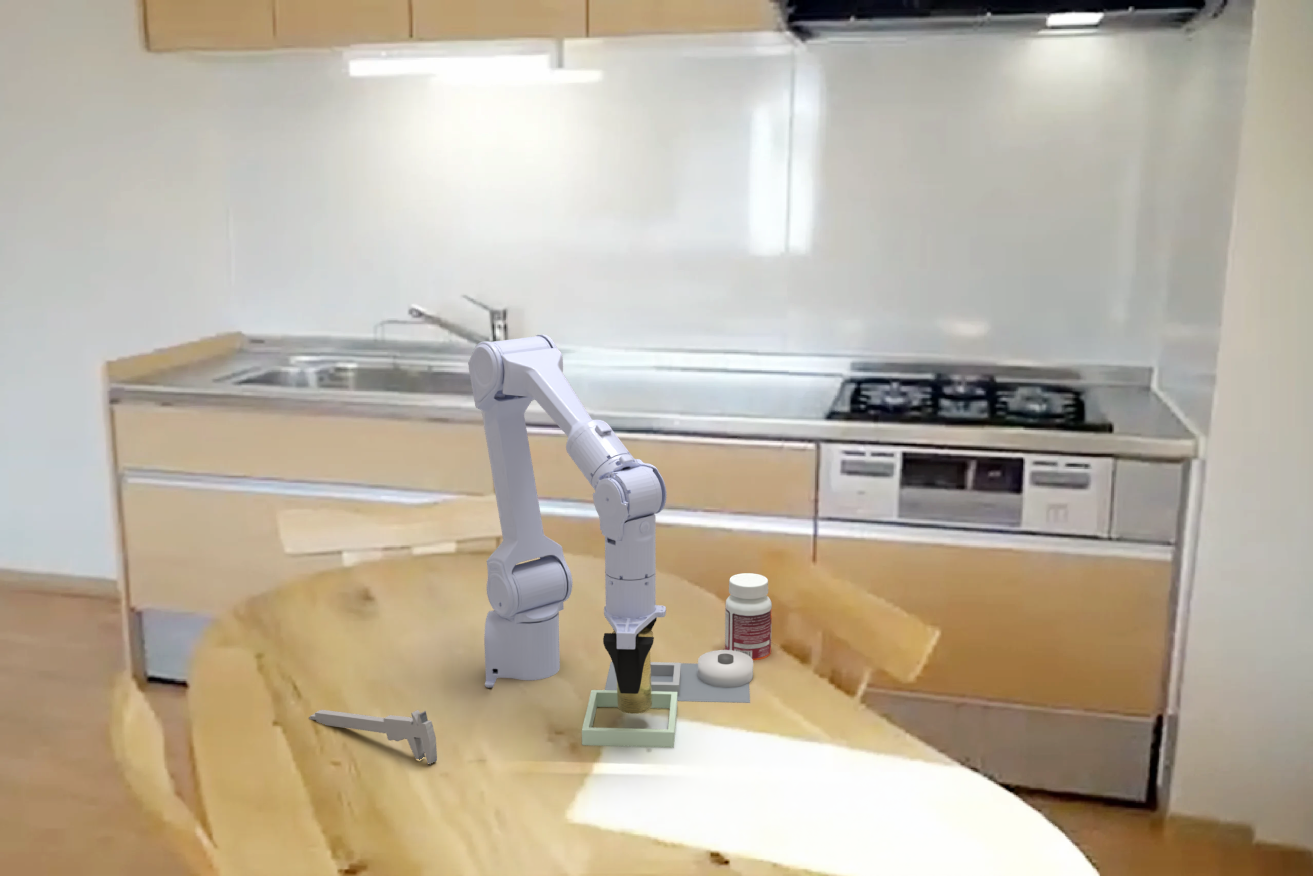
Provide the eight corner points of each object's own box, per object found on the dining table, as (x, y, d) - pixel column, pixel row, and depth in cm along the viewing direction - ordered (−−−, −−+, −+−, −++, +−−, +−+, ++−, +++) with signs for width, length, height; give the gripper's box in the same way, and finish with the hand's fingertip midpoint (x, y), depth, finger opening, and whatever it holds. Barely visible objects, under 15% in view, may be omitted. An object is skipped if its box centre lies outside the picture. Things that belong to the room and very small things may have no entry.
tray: (582, 754, 139) (581, 730, 139) (591, 712, 149) (591, 689, 149) (673, 756, 139) (673, 732, 138) (677, 714, 149) (677, 691, 148)
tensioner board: (602, 708, 151) (602, 679, 150) (610, 670, 161) (610, 643, 160) (754, 711, 150) (754, 682, 149) (752, 673, 160) (752, 646, 159)
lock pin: (612, 715, 141) (609, 643, 139) (615, 695, 146) (612, 625, 144) (654, 715, 141) (652, 643, 139) (656, 695, 146) (654, 625, 143)
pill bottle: (780, 661, 164) (782, 581, 161) (743, 672, 161) (744, 591, 158) (751, 646, 169) (753, 568, 166) (715, 656, 166) (716, 577, 163)
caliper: (437, 765, 138) (435, 713, 136) (431, 769, 137) (428, 717, 135) (315, 717, 149) (311, 669, 147) (308, 720, 148) (304, 672, 147)
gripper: (662, 595, 132) (662, 711, 135) (668, 551, 146) (668, 657, 149) (597, 594, 132) (598, 710, 136) (609, 550, 147) (610, 656, 150)
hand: (631, 682), depth 143 cm, fingers closed on lock pin, 4 cm apart
